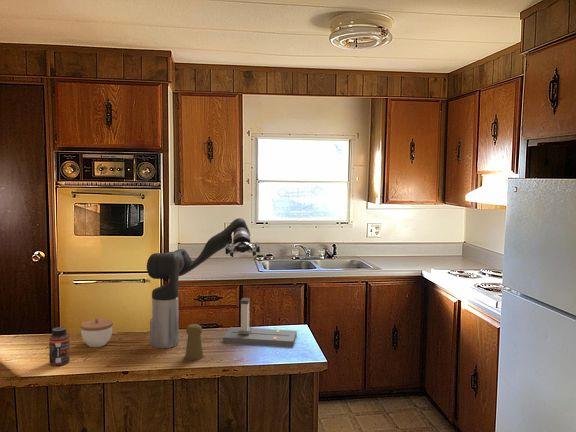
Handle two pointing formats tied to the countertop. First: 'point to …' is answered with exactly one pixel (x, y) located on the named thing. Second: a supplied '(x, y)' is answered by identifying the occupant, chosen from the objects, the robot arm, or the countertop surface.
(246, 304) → the post
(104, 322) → the lidded jar
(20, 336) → the countertop surface
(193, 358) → the pepper mill
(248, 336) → the slider console
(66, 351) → the supplement bottle
